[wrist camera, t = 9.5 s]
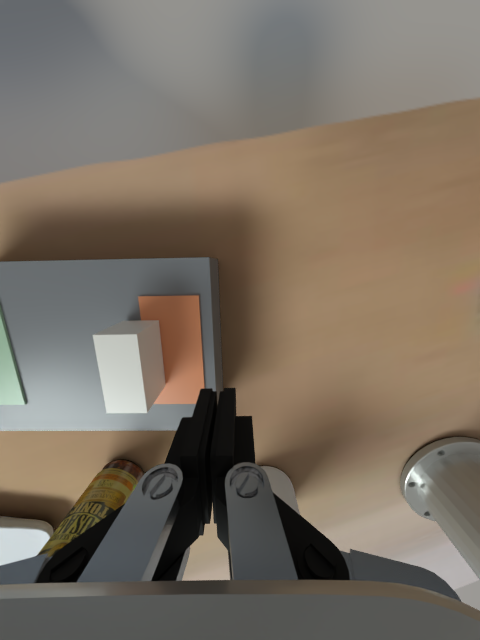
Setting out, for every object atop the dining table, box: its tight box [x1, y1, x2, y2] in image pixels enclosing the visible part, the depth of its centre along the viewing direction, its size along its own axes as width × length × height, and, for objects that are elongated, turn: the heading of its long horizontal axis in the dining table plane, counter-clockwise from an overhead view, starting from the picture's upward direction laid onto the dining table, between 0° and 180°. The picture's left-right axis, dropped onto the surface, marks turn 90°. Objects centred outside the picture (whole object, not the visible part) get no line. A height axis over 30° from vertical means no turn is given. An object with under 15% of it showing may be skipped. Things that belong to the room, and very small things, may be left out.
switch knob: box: [93, 320, 166, 413], centre depth 18 cm, size 3×6×4 cm, turn 1°
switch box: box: [0, 257, 223, 431], centre depth 23 cm, size 24×16×6 cm, turn 91°
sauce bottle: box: [37, 460, 144, 557], centre depth 21 cm, size 6×6×20 cm
